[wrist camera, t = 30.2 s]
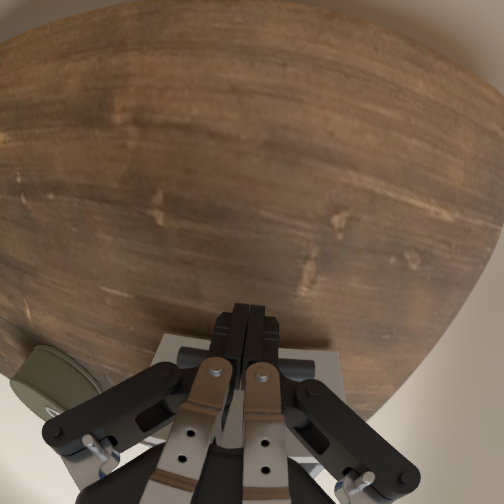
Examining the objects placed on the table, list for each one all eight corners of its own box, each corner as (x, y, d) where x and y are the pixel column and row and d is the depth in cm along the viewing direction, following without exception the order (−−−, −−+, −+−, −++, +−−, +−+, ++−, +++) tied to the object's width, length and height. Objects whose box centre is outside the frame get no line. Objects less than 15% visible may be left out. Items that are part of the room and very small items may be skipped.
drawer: (155, 282, 19) (96, 385, 11) (356, 302, 18) (387, 418, 10) (184, 417, 28) (167, 483, 20) (302, 430, 28) (302, 499, 20)
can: (20, 338, 28) (-4, 372, 22) (73, 347, 26) (45, 392, 20) (63, 393, 33) (46, 426, 27) (120, 407, 31) (103, 447, 25)
